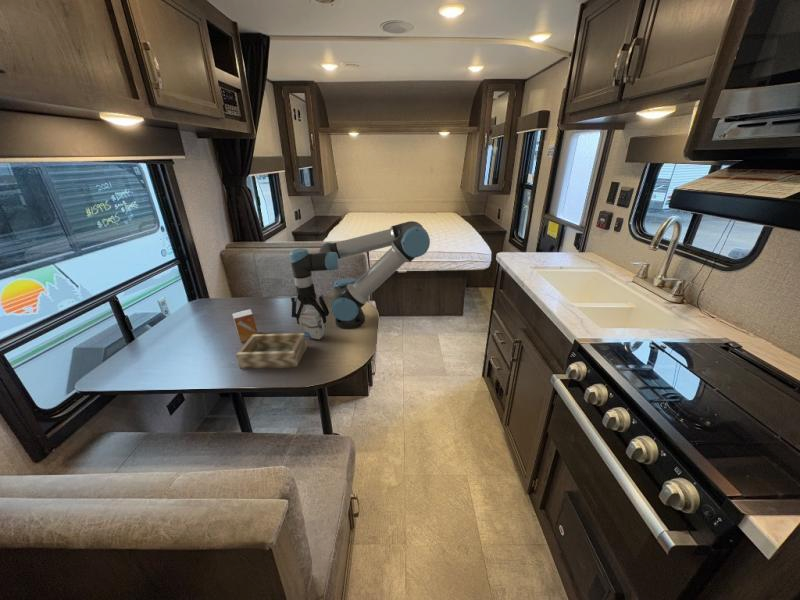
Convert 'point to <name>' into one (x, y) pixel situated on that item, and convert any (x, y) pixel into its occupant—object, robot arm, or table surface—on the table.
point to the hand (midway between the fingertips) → (313, 329)
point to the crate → (272, 351)
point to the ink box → (311, 323)
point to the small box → (245, 324)
